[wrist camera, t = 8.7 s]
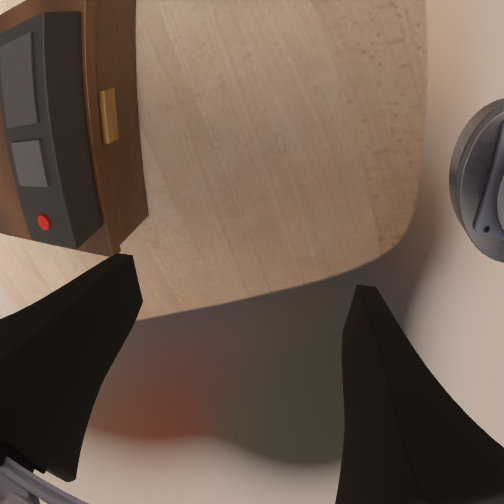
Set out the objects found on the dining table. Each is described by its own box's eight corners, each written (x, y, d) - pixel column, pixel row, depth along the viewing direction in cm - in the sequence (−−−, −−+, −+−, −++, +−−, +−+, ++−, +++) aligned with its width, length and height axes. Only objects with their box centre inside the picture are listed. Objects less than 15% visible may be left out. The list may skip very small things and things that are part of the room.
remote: (31, 30, 11) (-8, 36, 9) (81, 10, 10) (40, 11, 8) (57, 218, 18) (28, 241, 16) (103, 225, 17) (75, 252, 15)
